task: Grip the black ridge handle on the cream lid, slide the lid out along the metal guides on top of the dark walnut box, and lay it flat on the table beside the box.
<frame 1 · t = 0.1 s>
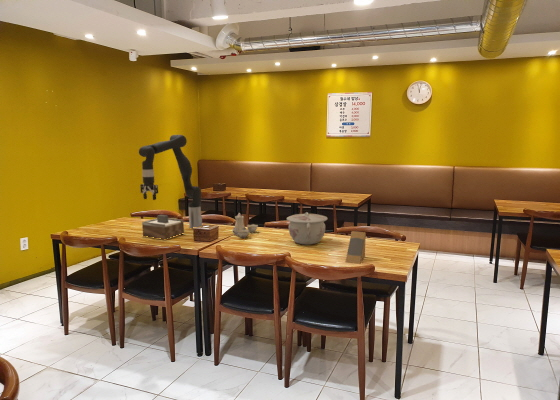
hand: (149, 199, 282), 29 cm above the table, tool pointing down, fingers open, 8 cm apart
chinaware: (243, 235, 301), on the table
chamber pot: (306, 242, 276), on the table
box: (163, 235, 301), on the table
sandwich container: (355, 260, 237), on the table
lid: (163, 223, 300), point 9 cm above the table, touching box
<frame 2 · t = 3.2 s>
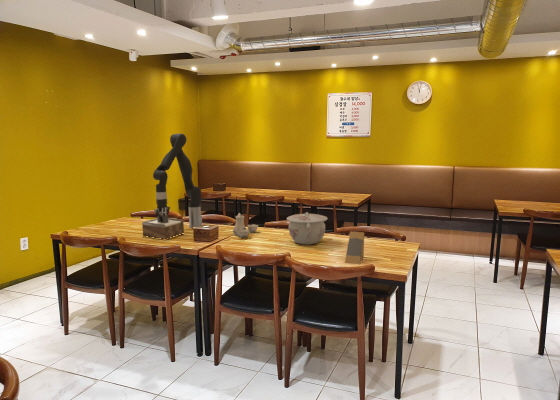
hand: (162, 221, 299), 11 cm above the table, tool pointing down, fingers closed on lid, 3 cm apart
lid: (163, 223, 300), point 9 cm above the table, touching box, gripper
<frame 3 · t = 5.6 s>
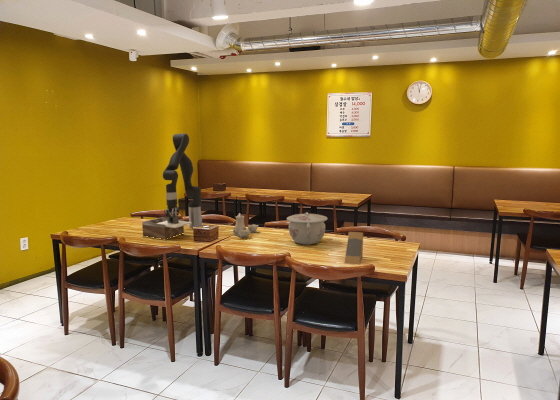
hand: (173, 222, 294), 11 cm above the table, tool pointing down, fingers closed on lid, 3 cm apart
lid: (173, 224, 295), point 9 cm above the table, touching gripper
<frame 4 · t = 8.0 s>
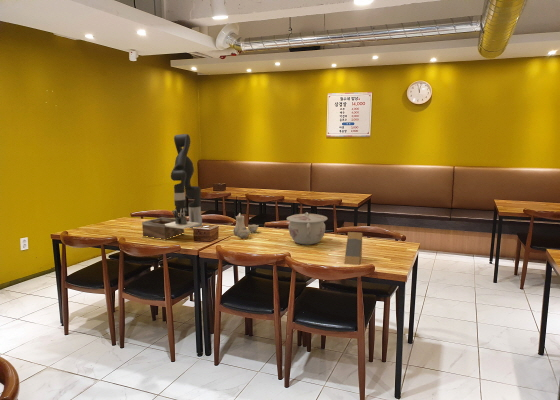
hand: (181, 222, 290), 11 cm above the table, tool pointing down, fingers closed on lid, 3 cm apart
lid: (181, 225, 291), point 10 cm above the table, touching gripper
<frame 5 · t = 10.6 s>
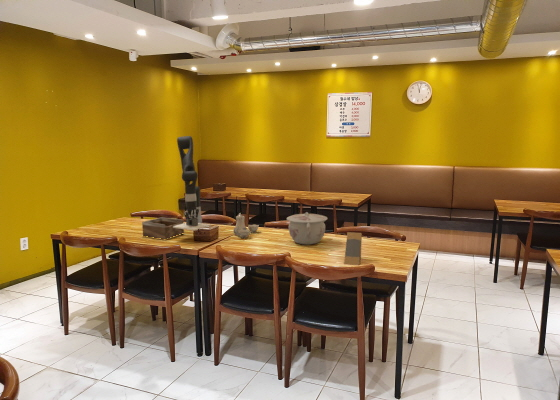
hand: (192, 224, 286), 11 cm above the table, tool pointing down, fingers closed on lid, 3 cm apart
lid: (192, 226, 286), point 9 cm above the table, touching gripper
when the fingers open (3 cm above the table, at t = 12.8 s): lid drops 2 cm, on the table.
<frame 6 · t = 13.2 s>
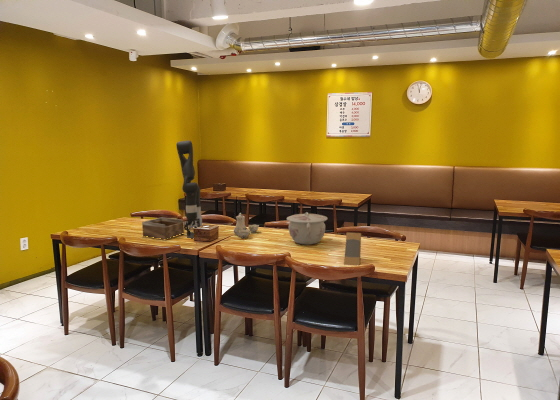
hand: (192, 234, 287), 4 cm above the table, tool pointing down, fingers open, 7 cm apart
lid: (192, 240, 287), on the table
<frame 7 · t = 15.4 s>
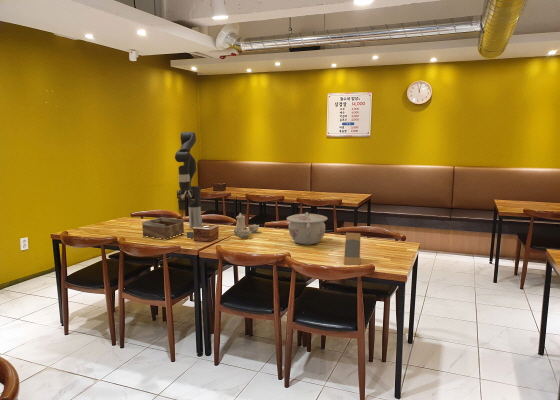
hand: (185, 203, 289), 25 cm above the table, tool pointing down, fingers open, 8 cm apart
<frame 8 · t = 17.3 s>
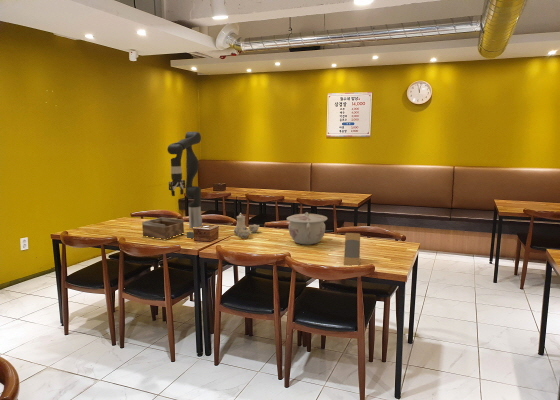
hand: (177, 195, 294), 30 cm above the table, tool pointing down, fingers open, 8 cm apart
at the end: lid inside the target area (0.1 cm from its centre), on the table; lid touching table; lid tilted 0° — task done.
